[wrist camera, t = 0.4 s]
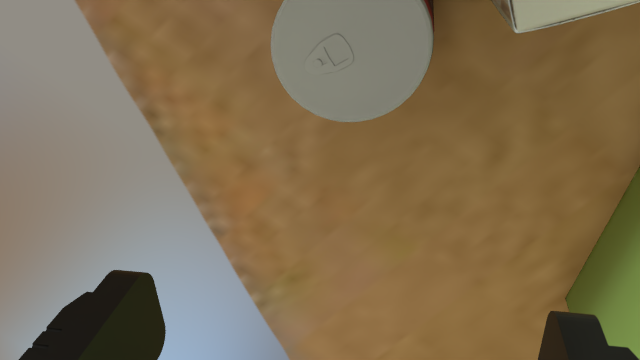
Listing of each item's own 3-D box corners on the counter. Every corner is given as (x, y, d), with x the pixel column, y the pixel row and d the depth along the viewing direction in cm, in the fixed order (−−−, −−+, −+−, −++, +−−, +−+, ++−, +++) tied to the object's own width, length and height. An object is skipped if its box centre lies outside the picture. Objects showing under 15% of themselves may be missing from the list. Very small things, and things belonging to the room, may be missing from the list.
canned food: (289, 6, 36) (238, 49, 26) (374, -90, 32) (350, -81, 22) (368, 85, 37) (347, 153, 28) (458, 2, 34) (468, 48, 24)
